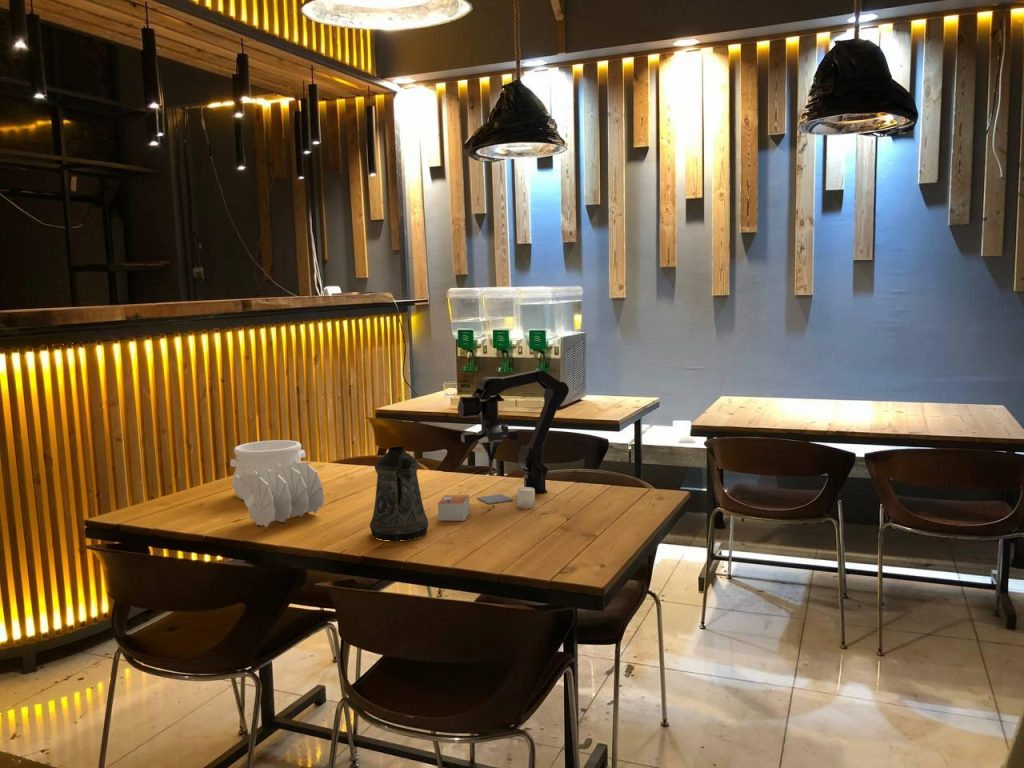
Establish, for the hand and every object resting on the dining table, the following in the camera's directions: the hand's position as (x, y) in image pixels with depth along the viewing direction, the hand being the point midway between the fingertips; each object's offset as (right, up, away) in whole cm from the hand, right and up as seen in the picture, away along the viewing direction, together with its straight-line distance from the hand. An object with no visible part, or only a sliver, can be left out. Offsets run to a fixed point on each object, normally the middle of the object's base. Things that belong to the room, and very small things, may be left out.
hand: (490, 461), depth 275 cm
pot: (-77, -13, +12) cm, 79 cm away
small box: (-10, -11, -17) cm, 23 cm away
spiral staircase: (-63, -16, -21) cm, 68 cm away
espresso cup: (+12, -13, -12) cm, 21 cm away
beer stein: (-24, -17, -40) cm, 50 cm away
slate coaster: (+1, -12, -3) cm, 13 cm away
